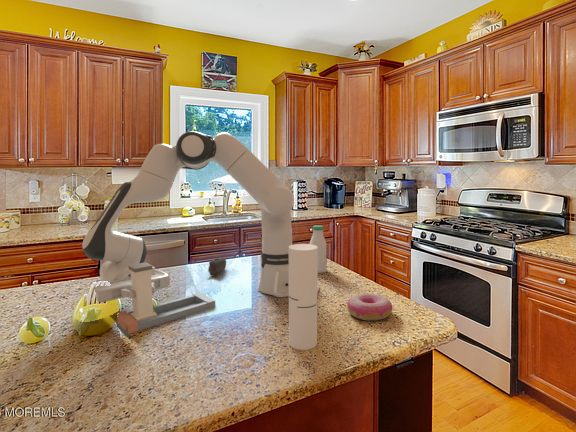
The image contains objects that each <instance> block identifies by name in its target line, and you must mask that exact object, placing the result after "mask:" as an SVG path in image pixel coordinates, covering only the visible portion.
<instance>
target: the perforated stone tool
mask: <svg viewBox="0 0 576 432" xmlns="http://www.w3.org/2000/svg"><path fill="white" fill-rule="evenodd" d="M208 263H209V266H208V268H207V269H208V270H207V271H208V273H209V275H210V276H211V277H219V276H220V275H221V274H222V273H224V271H225V269H226V266H227V260H226V258H225V257H222V256H221V257H217V258H214V259H211V261H209V262H208Z"/></svg>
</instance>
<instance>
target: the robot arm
mask: <svg viewBox="0 0 576 432" xmlns="http://www.w3.org/2000/svg"><path fill="white" fill-rule="evenodd" d="M210 162H213V163H216V164H218V165H219V166H220V167H221V168H222V169H224V171H225V172H226V173H227V175H229V176H230V177H231V178H233V179H234V181H235V182H237V184H239V186H240V187H242V188H243V189H244V191H246V192H247V194H249V196H250V197H252V198H253V199H254V201H255V202H256V203H257V204H259V206H260V212H261V213H260V215H261V218H260V219H261V249H262V250H261V252H260V266H261V274H260V280H259V285H258V288H257V289H258V291H259V292H261V293H263V294H265V295H271V296H273V297H276V298H286V297H287V298H288V297H289V246H290V245H293V228H292V215H291V211H292V209H293V207H294V204H295V198H294V194H293V192H292V191H291V189H290V188H289V187H288V186H287V185H286V184H285V183H284V182H282V180H281V179H280V178H279V177H277V176H276V175H275V174H274V173H273V172H272V171H271V170H270V169H269V168H268V167H267V166H266V165H265V164H264V163H263V162H261V160H260V159H259V158H258V157H257V156H256V155H255V154H254V153H253V152H252V151H251V150H250V149H249V148H248V147H247V146H246V145H245V144H243V143H242V142H241V141H240V140H239V139H238V138H236V137H235V136H234V135H232V134H230V133H228V132H225V131H224V132H219V133H218V134H216V135H215V136H214V137H213V136H212V135H208V134H205V133H202V132H198V131H193V130H192V131H190V130H189V131H186V132H183V134H181V135H180V136H179V137H178V138H177V142H176V145H173V146H172V145H170V144H166V143H157V144H155V145H154V146H152V148H151V150H150V151H149V152H148V154H147V155H146V157H145V159H144V160H143V163H142V165H141V167H140V169H139V172H138V174H137V175H136V176H135V177H134V178H133V179H132V180H131V181H127V182H124V183H122V184H121V185H120V187H118V189H117V190H116V191H115V193H114V195H113V196H112V197H111V199H110V200H109V202H108V203H107V205H106V206H105V208H104V210H103V211H102V212H101V214H100V216H99V217H98V219H97V220H96V222H95V223H94V224H93V225H92V227H91V228H90V229H89V231H88V232H87V234H86V235H85V236H84V238H83V241H82V244H81V249H82V251H83V253H84V255H86V256H87V258H88V259H89V260H95V261H105V262H103V263H102V264H101V266H100V268H99V277H100V279H101V281H102V282H103V281H108V282H110V284H111V285H110V286H97V287H95V286H94V287H95V292H96V296H95V299H96V301H97V302H98V303H106V302H110V301H115V300H119V299H123V298H129V299H131V300H132V299H133V298H134V297H136V295H135V294H136V292H135V291H134V290H132V281H131V270H130V269H129V266H128V265H134V264H139V263H145V262H146V261H145V260H146V258H147V254H148V249H147V244H146V243H145V241H144V239H143V237H139V236H136V235H132V234H127V233H123V232H120V231H116V230H113V229H112V228H113V226H114V225H115V223H116V222H117V221H118V219H119V217H120V216H121V214H122V213H123V211H124V209H126V207H128V206H130V205H134V204H137V203H138V204H139V203H154V202H158V201H161V200H163V199H164V198H166V197H167V196H168V195H169V193H170V191H171V189H172V187H173V184H174V183H175V179H176V177H177V174H178V172H179V171H180V170H181V169H183V170H185V169H186V170H201V169H204V168H205V167H206V166H207V165H208V164H209V163H210ZM170 279H171V278H170V275H169V274H168V273H166V272H165V271H162V269H161V270H160V269H156V267H155V266H153V269H151V283H152V294H155V293H156V290H160V289H165V288H168V287H169V286H170V281H171V280H170ZM319 291H320V287H319V284H318V283H317V293H318V292H319Z"/></svg>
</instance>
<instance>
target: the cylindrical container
mask: <svg viewBox="0 0 576 432" xmlns="http://www.w3.org/2000/svg"><path fill="white" fill-rule="evenodd" d="M317 263H318V247H317V246H316V245H311V244H310V243H295V244H292V245H290V246H289V296H288V344H289V346H290V347H291V348H293V349H295V350H300V351H308V350H311V349H313V348H316V346H317V345H318V343H317V342H318V292H317V284H318V273H317Z"/></svg>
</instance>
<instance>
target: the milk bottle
mask: <svg viewBox="0 0 576 432" xmlns="http://www.w3.org/2000/svg"><path fill="white" fill-rule="evenodd" d="M309 244H311V245H316V246H317V247H318V263H317V274H322V273H325V272H326V271H327V268H328V267H327V261H328V260H327V259H328V258H327V257H328V254H327V251H328V248H327V240H326V238H325V236H324V226H323V225H320V224H319V225H313V226H312V235H311V239H310V241H309Z"/></svg>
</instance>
